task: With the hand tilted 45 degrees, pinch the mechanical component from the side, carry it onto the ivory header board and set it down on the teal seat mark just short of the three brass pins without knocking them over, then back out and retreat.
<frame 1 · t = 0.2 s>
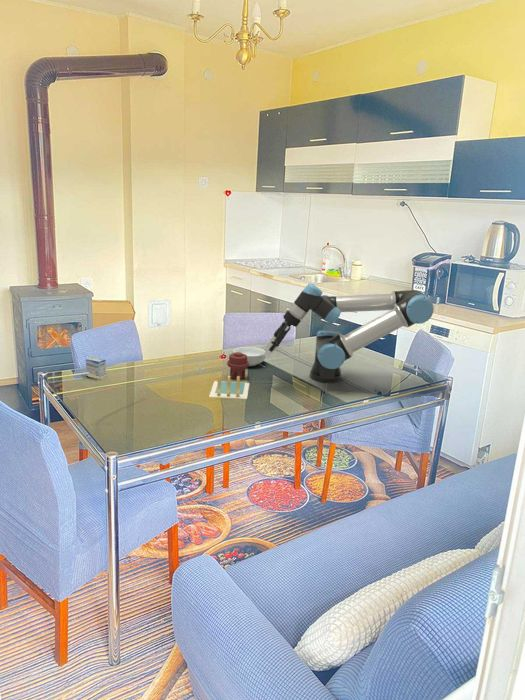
hand: (266, 352, 231), 15 cm above the table, tool tilted 35°, fingers open, 13 cm apart
pin 3: (218, 395, 217), point 1 cm above the table, touching header board
medicine box: (96, 377, 234), on the table
pin 2: (228, 396, 217), point 1 cm above the table, touching header board
cereal bowl: (248, 364, 261), on the table
header board: (229, 391, 224), on the table
mechanical component: (237, 378, 241), on the table
pin 1: (237, 396, 217), point 1 cm above the table, touching header board
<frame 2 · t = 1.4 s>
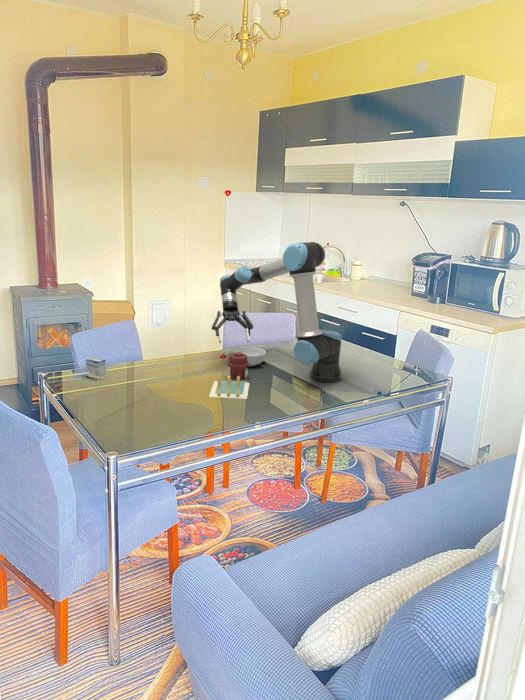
hand: (234, 341, 246), 15 cm above the table, tool tilted 45°, fingers open, 13 cm apart
nothing on the table moved.
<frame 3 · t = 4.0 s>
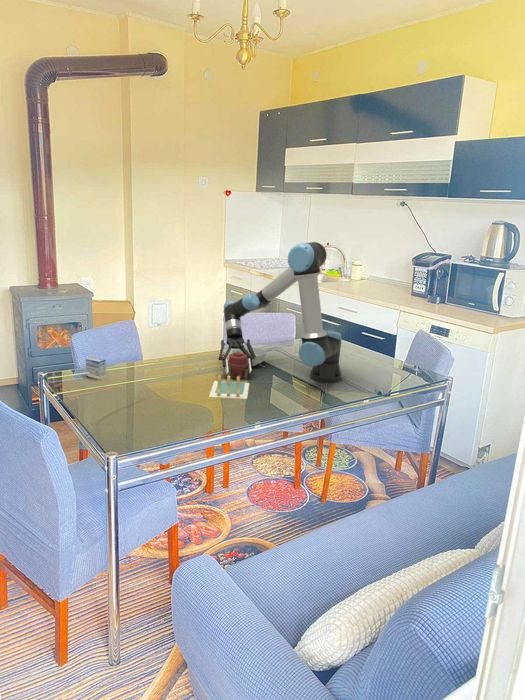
hand: (238, 372, 236), 4 cm above the table, tool tilted 45°, fingers closed on mechanical component, 10 cm apart
mechanical component: (237, 378, 241), on the table, touching gripper
everything else where it was.
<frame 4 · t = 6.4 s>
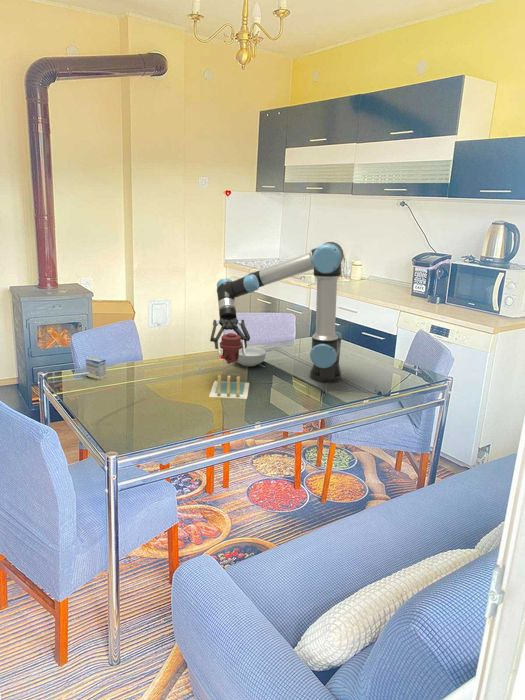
hand: (231, 354, 219), 17 cm above the table, tool tilted 45°, fingers closed on mechanical component, 10 cm apart
mechanical component: (230, 361, 223), point 13 cm above the table, touching gripper
everything else where it was.
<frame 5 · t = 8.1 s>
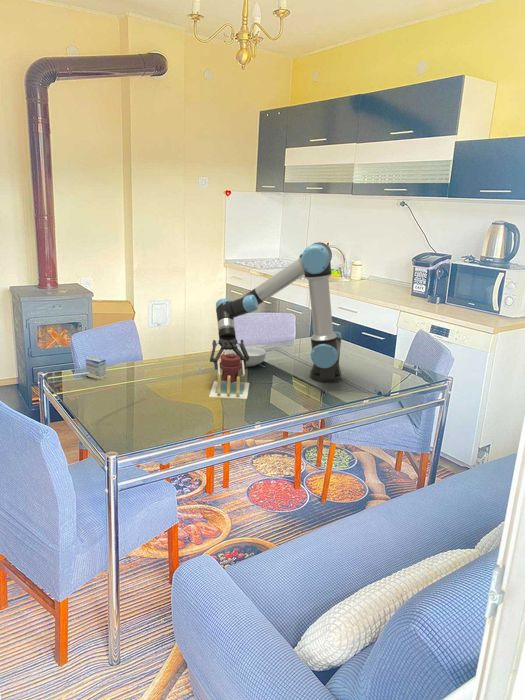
hand: (231, 375, 221), 8 cm above the table, tool tilted 45°, fingers closed on mechanical component, 10 cm apart
mechanical component: (229, 381, 225), point 4 cm above the table, touching gripper
everything else where it was.
when the fingers open (6 cm above the table, at t = 9.0 s): mechanical component drops 1 cm, resting on header board.
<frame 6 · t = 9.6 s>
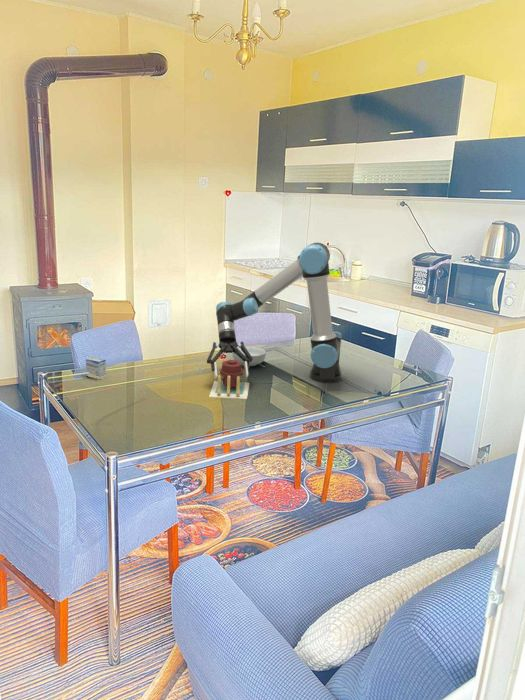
hand: (231, 376, 222), 7 cm above the table, tool tilted 45°, fingers open, 13 cm apart
mechanical component: (230, 387, 226), point 1 cm above the table, touching header board
everything else where it was.
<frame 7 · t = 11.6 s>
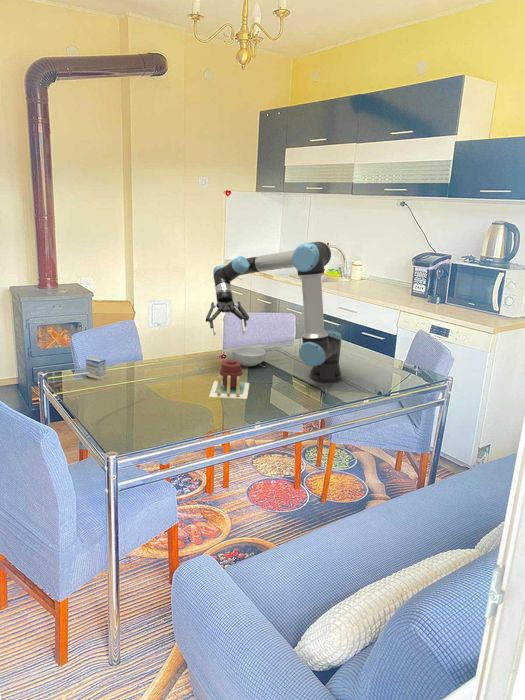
hand: (229, 333, 234), 22 cm above the table, tool tilted 45°, fingers open, 13 cm apart
nothing on the table moved.
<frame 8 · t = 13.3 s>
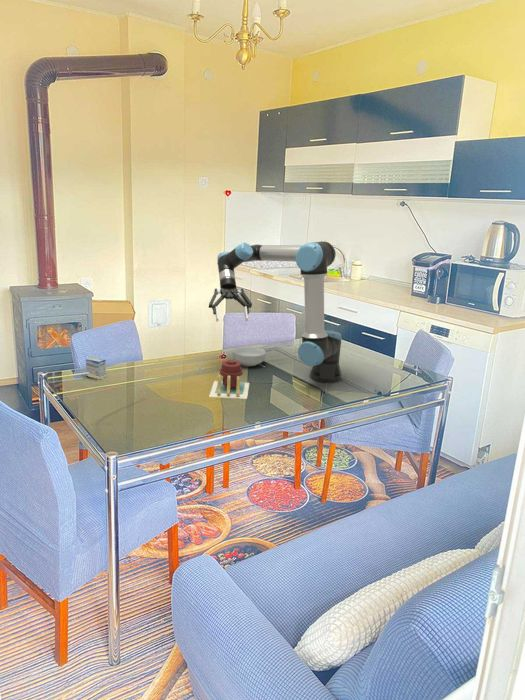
hand: (232, 319, 234), 28 cm above the table, tool tilted 45°, fingers open, 13 cm apart
nothing on the table moved.
at the end: mechanical component inside the target area on the header board (0.4 cm from its centre), point 0.9 cm above the header board's base; mechanical component tilted 0°; pin 2 tilted 0° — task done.
